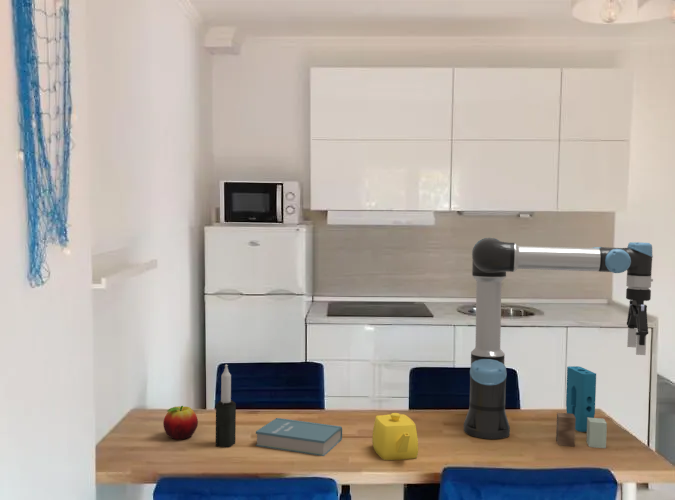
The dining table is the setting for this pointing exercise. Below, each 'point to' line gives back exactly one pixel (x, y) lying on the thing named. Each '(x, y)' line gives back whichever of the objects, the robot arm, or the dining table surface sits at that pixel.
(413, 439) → the teapot
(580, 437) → the dining table surface
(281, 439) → the book
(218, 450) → the dining table surface
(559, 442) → the walnut pillar
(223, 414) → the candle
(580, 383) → the block
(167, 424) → the fruit
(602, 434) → the sage pillar
